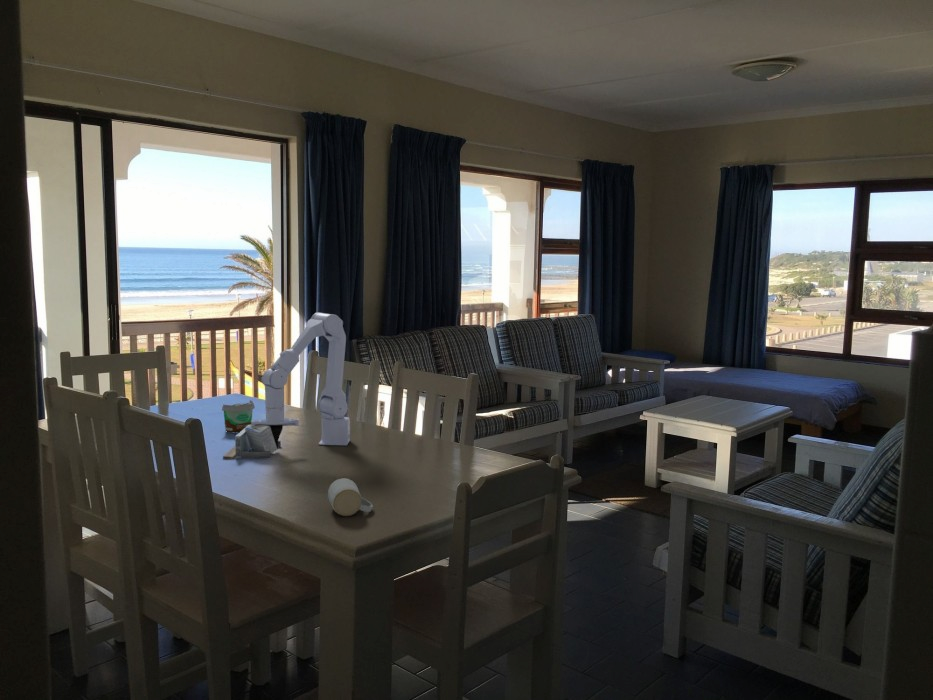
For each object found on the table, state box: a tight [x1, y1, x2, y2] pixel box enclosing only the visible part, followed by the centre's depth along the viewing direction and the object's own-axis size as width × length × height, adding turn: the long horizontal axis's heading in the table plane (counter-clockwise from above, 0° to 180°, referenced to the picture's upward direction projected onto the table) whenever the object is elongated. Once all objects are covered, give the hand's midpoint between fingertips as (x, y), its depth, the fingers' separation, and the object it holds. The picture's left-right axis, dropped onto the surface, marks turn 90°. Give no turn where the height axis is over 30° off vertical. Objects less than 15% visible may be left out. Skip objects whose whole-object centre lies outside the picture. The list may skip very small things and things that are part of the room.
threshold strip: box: [222, 445, 236, 460], centre depth 239 cm, size 3×18×1 cm, turn 2°
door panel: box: [234, 425, 251, 459], centre depth 239 cm, size 2×17×7 cm, turn 2°
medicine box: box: [245, 424, 278, 454], centre depth 237 cm, size 8×4×9 cm, turn 51°
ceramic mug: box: [327, 477, 374, 517], centre depth 186 cm, size 11×8×8 cm
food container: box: [221, 399, 255, 433], centre depth 266 cm, size 12×6×10 cm, turn 143°
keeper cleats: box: [240, 440, 282, 459], centre depth 240 cm, size 9×15×2 cm, turn 2°
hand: (275, 448), depth 240 cm, fingers closed, pressing on medicine box
